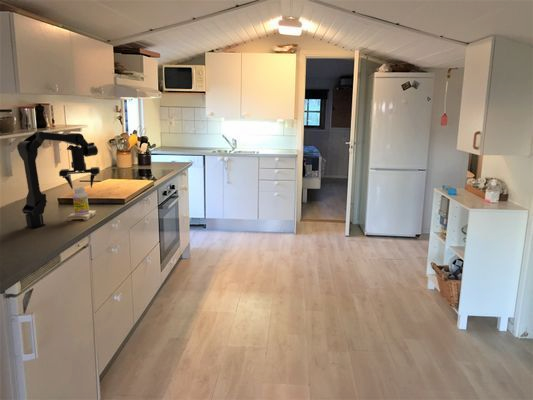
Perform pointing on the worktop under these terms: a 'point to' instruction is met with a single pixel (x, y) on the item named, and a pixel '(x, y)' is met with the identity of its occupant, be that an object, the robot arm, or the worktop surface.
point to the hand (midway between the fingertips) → (81, 188)
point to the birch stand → (84, 217)
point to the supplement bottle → (80, 201)
